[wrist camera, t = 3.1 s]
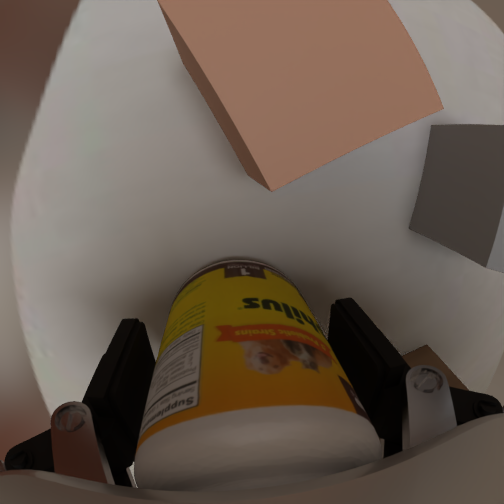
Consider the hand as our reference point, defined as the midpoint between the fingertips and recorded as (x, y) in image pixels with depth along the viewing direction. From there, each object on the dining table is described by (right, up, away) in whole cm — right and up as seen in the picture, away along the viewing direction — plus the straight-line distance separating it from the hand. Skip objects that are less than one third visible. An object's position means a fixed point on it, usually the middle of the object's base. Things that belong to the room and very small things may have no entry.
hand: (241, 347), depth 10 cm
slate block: (+10, +6, +2) cm, 12 cm away
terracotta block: (+1, +9, -1) cm, 10 cm away
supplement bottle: (0, +1, +2) cm, 2 cm away
